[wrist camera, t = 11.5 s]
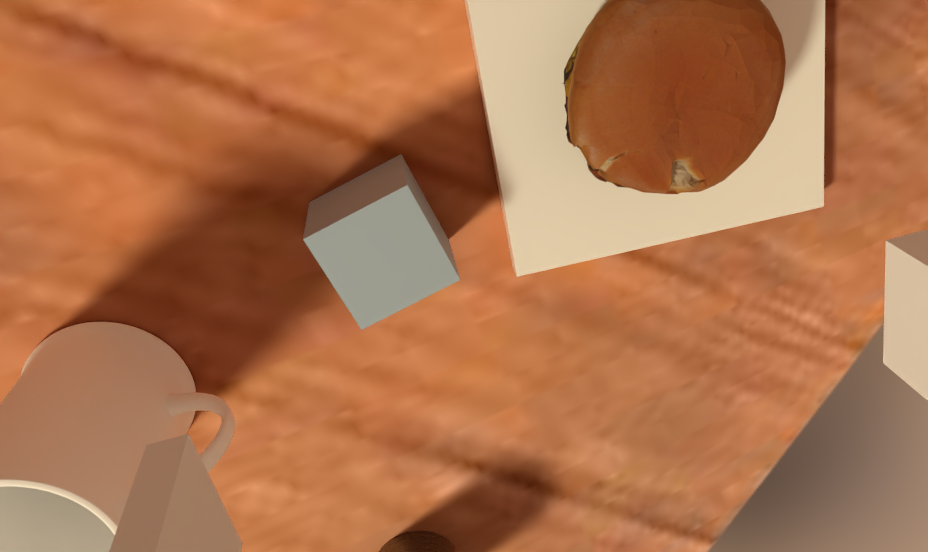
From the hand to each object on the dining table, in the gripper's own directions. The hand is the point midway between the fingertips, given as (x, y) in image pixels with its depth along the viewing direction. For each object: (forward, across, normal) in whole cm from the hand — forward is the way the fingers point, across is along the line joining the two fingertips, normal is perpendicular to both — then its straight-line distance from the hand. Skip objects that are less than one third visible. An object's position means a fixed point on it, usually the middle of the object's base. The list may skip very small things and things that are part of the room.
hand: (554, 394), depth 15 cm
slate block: (+24, -4, -5) cm, 25 cm away
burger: (+23, +10, -2) cm, 25 cm away
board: (+24, +11, -2) cm, 26 cm away
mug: (+25, -18, -11) cm, 32 cm away
